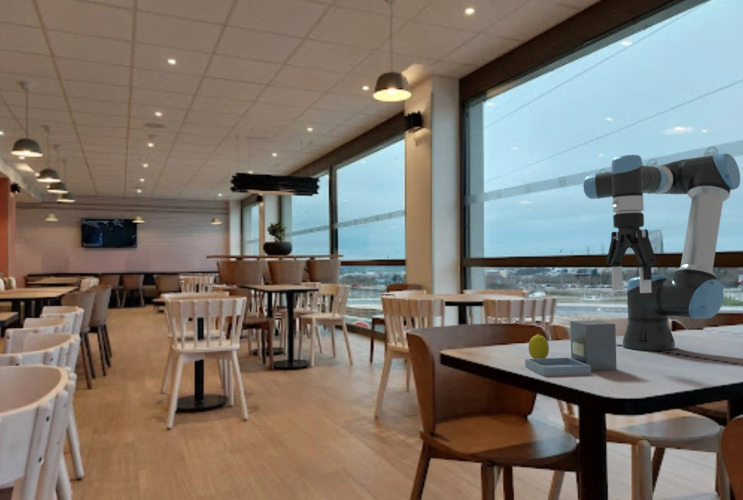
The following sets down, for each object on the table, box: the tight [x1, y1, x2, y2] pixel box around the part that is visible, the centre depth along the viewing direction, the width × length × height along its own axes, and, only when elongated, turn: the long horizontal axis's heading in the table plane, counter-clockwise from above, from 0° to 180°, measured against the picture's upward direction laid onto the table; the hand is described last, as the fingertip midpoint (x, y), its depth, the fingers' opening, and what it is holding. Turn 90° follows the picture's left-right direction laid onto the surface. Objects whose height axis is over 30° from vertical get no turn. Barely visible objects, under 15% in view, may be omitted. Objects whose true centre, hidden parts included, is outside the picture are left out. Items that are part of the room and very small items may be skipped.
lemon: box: [528, 333, 550, 359], centre depth 156 cm, size 6×6×8 cm
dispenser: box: [569, 319, 617, 372], centre depth 147 cm, size 9×9×12 cm
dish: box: [524, 357, 592, 377], centre depth 144 cm, size 12×12×2 cm
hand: (631, 291), depth 149 cm, fingers open, 13 cm apart
